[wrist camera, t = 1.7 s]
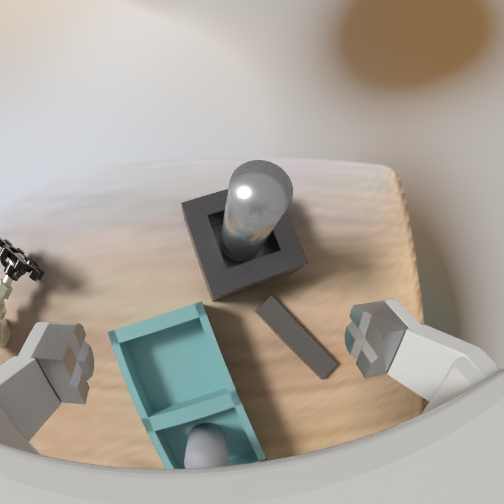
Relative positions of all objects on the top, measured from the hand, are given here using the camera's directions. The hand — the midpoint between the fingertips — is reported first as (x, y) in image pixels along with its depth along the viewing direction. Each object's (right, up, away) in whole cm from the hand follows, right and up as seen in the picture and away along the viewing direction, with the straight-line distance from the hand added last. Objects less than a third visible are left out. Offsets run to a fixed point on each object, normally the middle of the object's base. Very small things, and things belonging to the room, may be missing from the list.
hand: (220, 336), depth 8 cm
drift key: (+5, -6, +21) cm, 23 cm away
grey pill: (0, +3, +21) cm, 22 cm away
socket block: (0, +3, +22) cm, 23 cm away
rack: (-5, -12, +18) cm, 22 cm away
